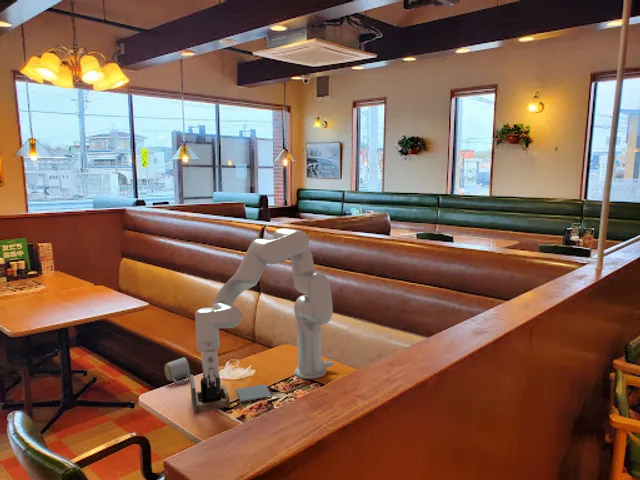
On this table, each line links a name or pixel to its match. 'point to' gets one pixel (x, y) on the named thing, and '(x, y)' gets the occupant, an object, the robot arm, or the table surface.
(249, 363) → the table surface
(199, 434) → the table surface
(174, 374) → the ceramic mug
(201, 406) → the dispenser stand
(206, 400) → the supplement bottle
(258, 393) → the rubber pad
